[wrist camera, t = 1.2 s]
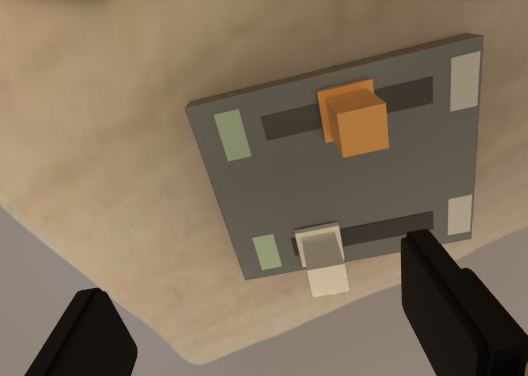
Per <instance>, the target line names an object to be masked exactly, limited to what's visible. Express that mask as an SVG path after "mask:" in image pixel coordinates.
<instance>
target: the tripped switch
mask: <svg viewBox="0 0 528 376" xmlns="http://www.w3.org/2000/svg"><path fill="white" fill-rule="evenodd" d="M316 92H317V98H318V104H319V110H320V116H321V123H322V129H323V135H324V141H325V143H328V142H332V141H334V142H335V144H336V146H337V148H338V149H339V151H340V153H341V155H342V157H343V158H345V157H349V156H354V155H359V154H363V153H368V152H373V151H377V150H382V149H386V148H389V140H388V126H387V111H386V103H385V102H384V101H383V100H381V99H380V98H379V97H377V96H376V95H375V94H374V88H373V79H371V78H368V79H363V80H359V81H355V82H351V83H347V84H343V85H338V86H334V87H330V88H326V89H322V90H317V91H316Z"/></svg>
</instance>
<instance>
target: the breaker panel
mask: <svg viewBox="0 0 528 376" xmlns="http://www.w3.org/2000/svg"><path fill="white" fill-rule="evenodd" d="M482 51H483V35H477V34H469V33H468V34H464V35H459V36H455V37H451V38H447V39H443V40H439V41H435V42H431V43H427V44H423V45H419V46H415V47H411V48H407V49H403V50H398V51H394V52H390V53H386V54H382V55H378V56H374V57H370V58H366V59H362V60H358V61H354V62H350V63H346V64H342V65H337V66H333V67H329V68H325V69H321V70H317V71H313V72H309V73H305V74H301V75H297V76H293V77H289V78H285V79H281V80H276V81H272V82H268V83H264V84H260V85H256V86H252V87H248V88H244V89H240V90H236V91H232V92H228V93H224V94H220V95H215V96H211V97H207V98H203V99H199V100H195V101H191V102H189V104H188V105H187V106H186V107H185V110H186V113H187V116H188V118H189V121H190V124H191V127H192V130H193V133H194V136H195V138H196V141H197V144H198V147H199V150H200V153H201V156H202V158H203V161H204V164H205V167H206V170H207V173H208V176H209V178H210V181H211V184H212V187H213V190H214V193H215V195H216V198H217V201H218V204H219V207H220V210H221V213H222V215H223V218H224V221H225V224H226V227H227V230H228V233H229V235H230V238H231V241H232V244H233V247H234V250H235V253H236V255H237V258H238V261H239V264H240V267H241V270H242V272H243V275H244V278H245V280H250V279H256V278H261V277H266V276H272V275H277V274H283V273H288V272H294V271H299V270H304V269H307V268H306V267H303V266H302V262H301V258H300V253H299V249H298V245H297V241H296V237H295V231H294V230H299V229H304V228H309V227H314V226H319V225H324V224H329V223H334V222H338V224H339V229H340V235H341V241H342V247H343V253H344V259H345V260H344V262H348V261H353V260H359V259H364V258H369V257H375V256H380V255H386V254H391V253H397V252H401V238H404V237H406V234H407V232H410V231H415V230H421V229H428V230H429V231H430V232H431V233H432V234H433V235H434V237H435V238H436V239H437V240H438V241H439V243H440V244H445V243H451V242H456V241H462V240H467V239H471V234H472V217H473V200H474V184H475V167H476V151H477V134H478V117H479V101H480V84H481V68H482ZM368 78H371V79H373V88H374V94H375V95H376V96H377V97H379V98H380V99H381V100H383V101H384V102H385V103H386V111H387V126H388V140H389V148H386V149H382V150H377V151H373V152H368V153H363V154H359V155H354V156H349V157H345V158H343V157H342V155H341V153H340V151H339V149H338V148H337V146H336V144H335V142H334V141H332V142H328V143H325V141H324V135H323V129H322V123H321V116H320V110H319V104H318V98H317V92H316V91H317V90H322V89H326V88H330V87H334V86H338V85H343V84H347V83H351V82H355V81H359V80H363V79H368Z"/></svg>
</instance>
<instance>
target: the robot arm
mask: <svg viewBox="0 0 528 376" xmlns="http://www.w3.org/2000/svg"><path fill="white" fill-rule="evenodd" d="M401 286H402V306H403V309H404V312H405V314H406V316H407V318H408V320H409V322H410V324H411V326H412V328H413V330H414V332H415V334H416V336H417V338H418V340H419V342H420V344H421V346H422V348H423V350H424V352H425V353H426V356H427V357H428V360H429V362H430V364H431V366H432V367H433V370H434V371H435V373H436V375H437V376H528V335H527V334H526V333H525V332H524V331H523V329H521V327H520V326H519V325H518V324H517V323H516V321H515V320H514V319H513V318H512V317H511V315H510V314H509V313H508V312H507V311H506V310H505V308H504V307H503V306H502V305H501V304H500V302H499V301H498V300H497V299H496V298H495V297H494V295H493V294H492V293H491V292H490V291H489V290H488V288H487V287H486V286H485V285H484V284H483V283H482V281H481V280H480V279H479V278H478V277H477V276H476V274H475V273H474V272H473V271H472V270H470V269H468V268H463V269H460V267H459V266H458V265H457V264H456V262H455V261H454V260H453V259H452V257H451V256H450V255H449V254H448V253H447V251H446V250H445V249H444V248H443V246H442V245H441V244H440V243H439V241H438V240H437V239H436V238H435V237H434V235H433V234H432V233H431V232H430V231H429V230H428V229H421V230H415V231H410V232H407V234H406V237H404V238H401ZM137 353H138V352H137V346H136V344H135V342H134V340H133V339H132V337H131V335H130V333H129V331H128V330H127V328H126V326H125V324H124V323H123V321H122V319H121V317H120V315H119V314H118V312H117V310H116V308H115V306H114V305H113V303H112V301H111V299H110V298H109V296H108V294H107V293H106V292H105V291H102V290H101V289H100V288H92V289H86V290H81V291H78V292H77V293H76V295H75V296H74V298H73V299H72V301H71V302H70V304H69V306H68V307H67V309H66V310H65V312H64V313H63V315H62V317H61V318H60V320H59V321H58V323H57V325H56V326H55V328H54V330H53V331H52V333H51V334H50V336H49V338H48V339H47V341H46V342H45V344H44V346H43V347H42V349H41V350H40V352H39V353H38V355H37V357H36V358H35V360H34V361H33V363H32V364H31V366H30V368H29V369H28V371H27V372H26V374H25V375H24V376H131V374H132V371H133V367H134V365H135V362H136V358H137Z"/></svg>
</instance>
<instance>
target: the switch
mask: <svg viewBox="0 0 528 376" xmlns="http://www.w3.org/2000/svg"><path fill="white" fill-rule="evenodd" d="M294 231H295V237H296V241H297V245H298V249H299V253H300V258H301V262H302V266H303V267H306V268H307V273H308V277H309V282H310V286H311V290H312V294H313V298H314V297H319V296H325V295H331V294H337V293H342V292H348V291H349V287H348V281H347V275H346V269H345V263H344V260H345V259H344V253H343V247H342V241H341V235H340V229H339V224H338V222H334V223H329V224H324V225H319V226H314V227H309V228H304V229H299V230H294Z"/></svg>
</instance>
